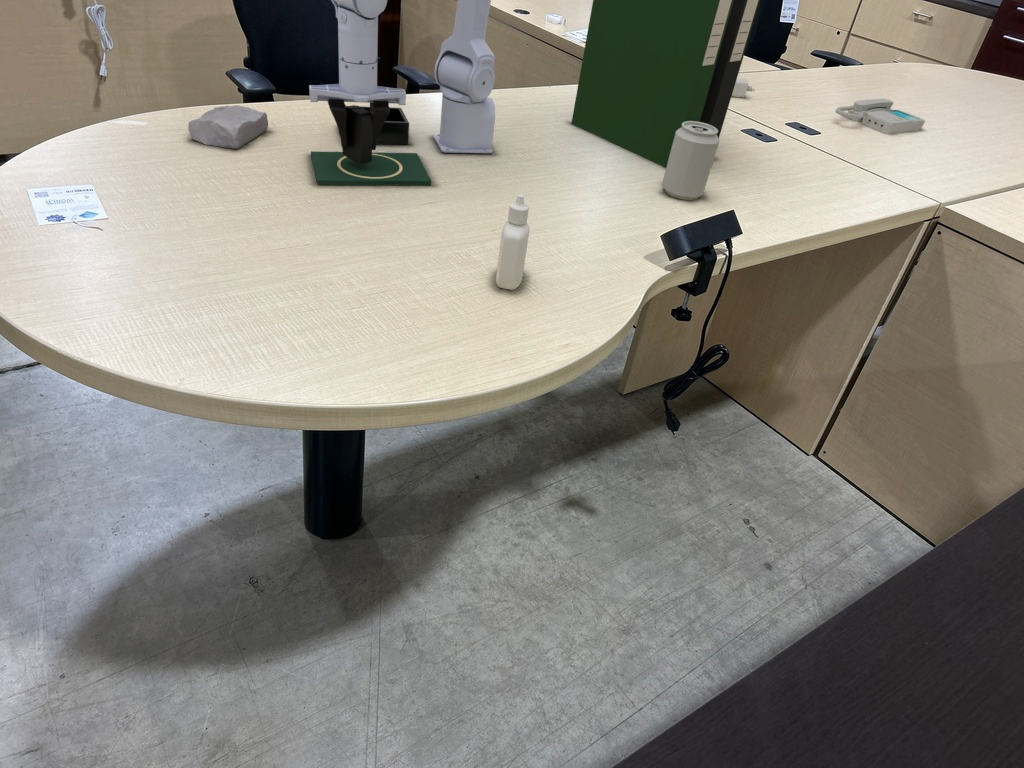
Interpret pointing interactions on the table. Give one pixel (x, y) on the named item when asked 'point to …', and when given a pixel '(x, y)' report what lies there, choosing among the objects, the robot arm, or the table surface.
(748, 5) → the binder
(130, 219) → the table surface
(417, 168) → the desk mat
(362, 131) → the ink cartridge
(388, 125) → the pen tray
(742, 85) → the usb wall charger
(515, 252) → the eye dropper bottle
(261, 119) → the stone block
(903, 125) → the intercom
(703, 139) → the can
